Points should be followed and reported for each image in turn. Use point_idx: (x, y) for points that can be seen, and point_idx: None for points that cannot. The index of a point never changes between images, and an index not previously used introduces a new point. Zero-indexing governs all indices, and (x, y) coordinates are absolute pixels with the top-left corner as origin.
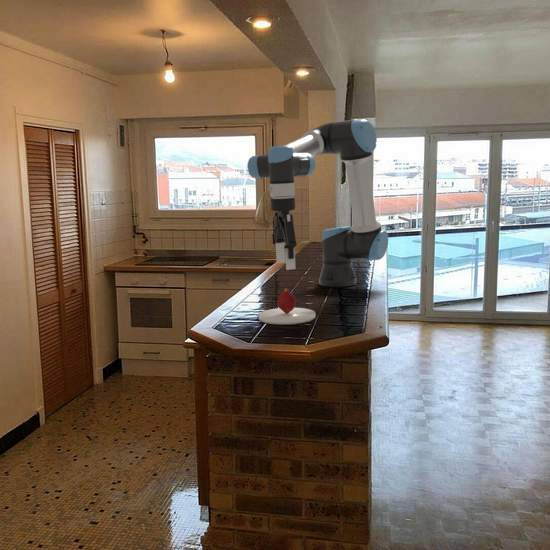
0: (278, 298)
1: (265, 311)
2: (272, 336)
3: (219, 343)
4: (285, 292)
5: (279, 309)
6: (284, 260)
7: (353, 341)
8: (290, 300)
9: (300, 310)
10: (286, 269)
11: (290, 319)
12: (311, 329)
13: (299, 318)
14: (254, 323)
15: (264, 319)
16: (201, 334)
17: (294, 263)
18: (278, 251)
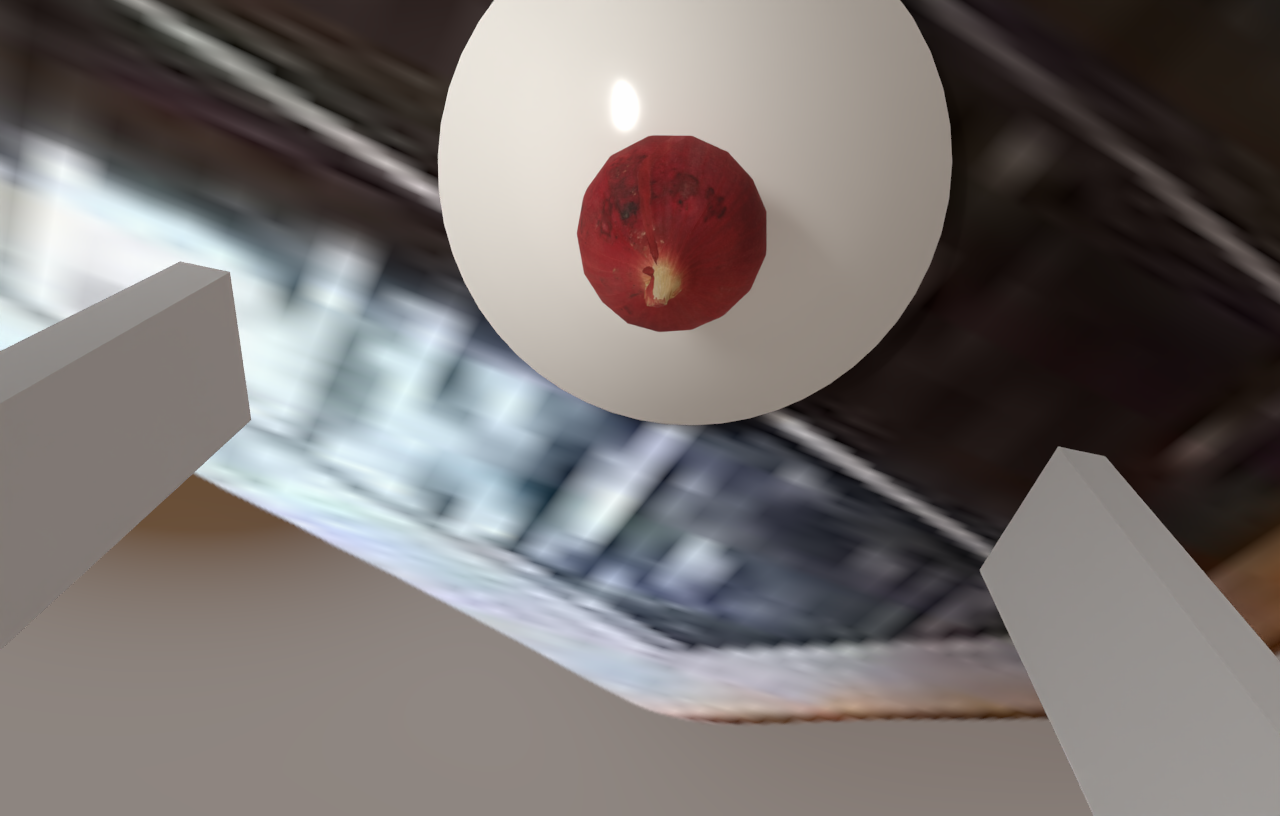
0: (653, 330)
1: (513, 323)
2: None
3: (987, 717)
4: (687, 291)
5: (493, 194)
6: (201, 308)
7: None
8: (763, 244)
9: (629, 29)
10: (996, 574)
11: (893, 277)
12: (1181, 213)
13: (915, 196)
14: (715, 462)
15: (737, 418)
16: (769, 717)
17: (1161, 547)
18: (58, 552)
